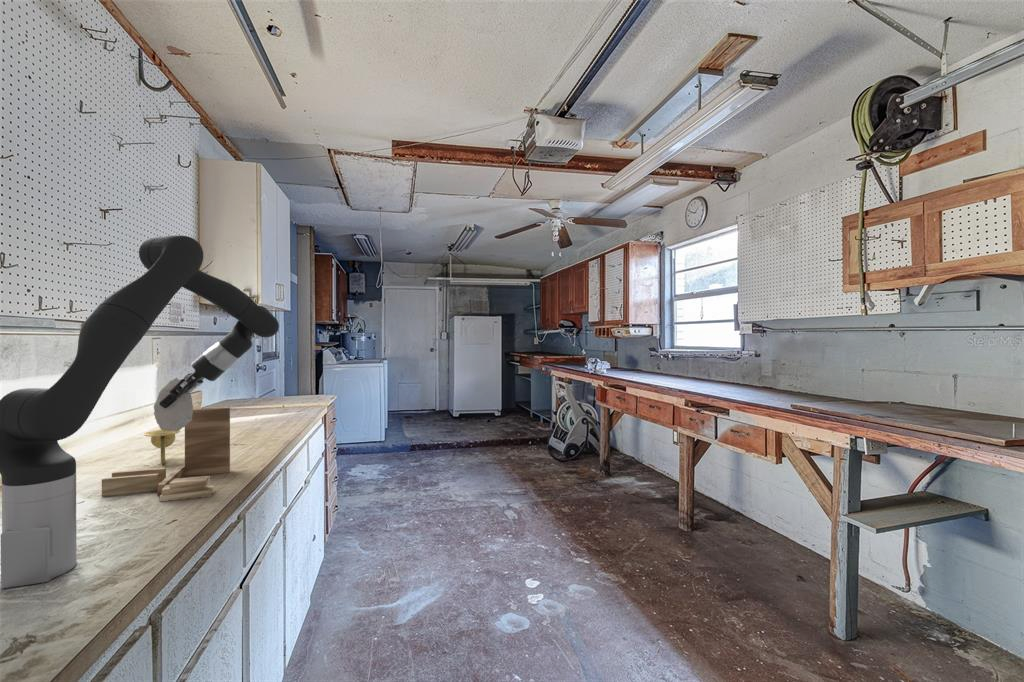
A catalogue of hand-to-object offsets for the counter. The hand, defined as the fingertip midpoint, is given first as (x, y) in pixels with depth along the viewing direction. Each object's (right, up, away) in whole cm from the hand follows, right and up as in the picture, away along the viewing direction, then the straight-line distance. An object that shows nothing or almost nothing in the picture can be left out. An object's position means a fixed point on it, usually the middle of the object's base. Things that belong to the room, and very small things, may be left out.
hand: (164, 405), depth 125 cm
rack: (+5, -23, +5) cm, 24 cm away
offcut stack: (+11, -23, -6) cm, 26 cm away
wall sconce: (-19, -23, +24) cm, 39 cm away
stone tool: (+2, -8, +1) cm, 8 cm away
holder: (-7, -23, -1) cm, 24 cm away
